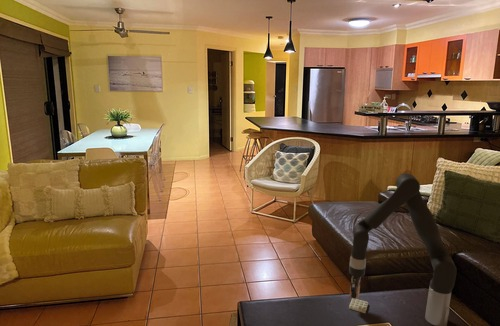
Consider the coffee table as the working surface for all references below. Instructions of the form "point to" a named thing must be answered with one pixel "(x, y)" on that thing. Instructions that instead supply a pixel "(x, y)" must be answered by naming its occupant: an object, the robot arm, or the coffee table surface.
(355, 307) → the stud plate
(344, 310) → the coffee table surface
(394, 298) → the coffee table surface
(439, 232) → the robot arm
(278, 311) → the coffee table surface
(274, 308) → the coffee table surface
